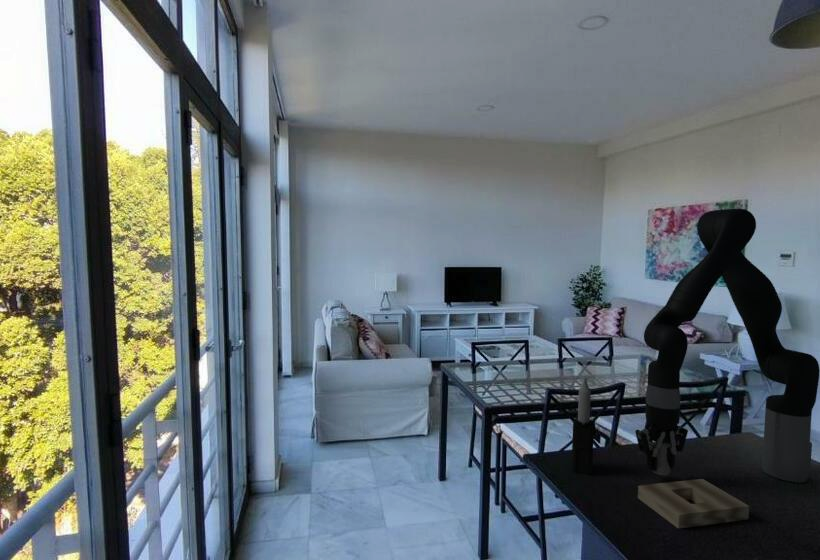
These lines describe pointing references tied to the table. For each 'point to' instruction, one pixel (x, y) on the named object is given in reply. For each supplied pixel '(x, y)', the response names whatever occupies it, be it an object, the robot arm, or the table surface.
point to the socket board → (682, 514)
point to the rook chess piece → (662, 460)
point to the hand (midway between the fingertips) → (660, 468)
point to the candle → (583, 434)
